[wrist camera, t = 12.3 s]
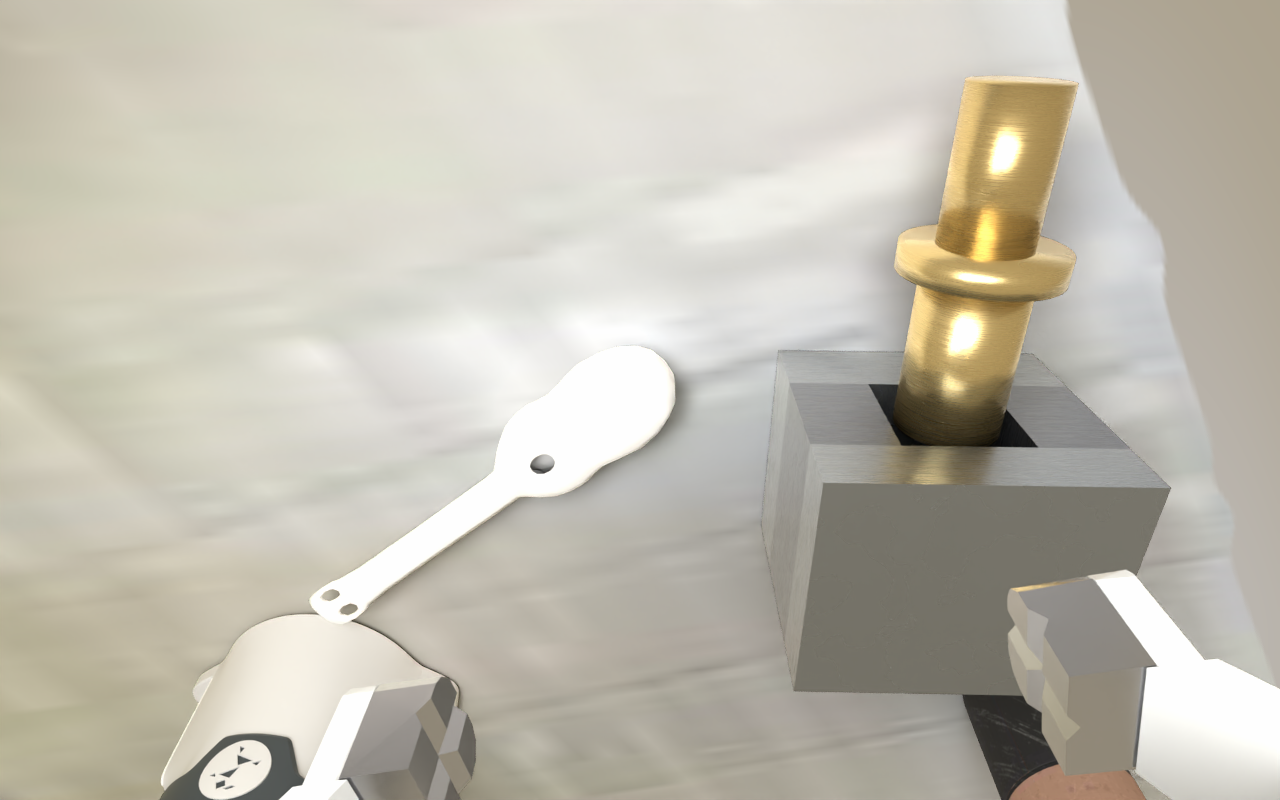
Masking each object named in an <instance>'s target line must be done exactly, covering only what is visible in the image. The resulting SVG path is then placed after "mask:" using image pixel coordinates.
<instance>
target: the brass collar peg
mask: <svg viewBox="0 0 1280 800" xmlns="http://www.w3.org/2000/svg"><path fill="white" fill-rule="evenodd" d="M1078 85H1079V83H1077V82H1074V81H1068V80H1062V79H1053V78H1041V77H1025V76H974V77H967V78H965V83H964V88H963V94H962V99H961V104H960V109H959V115H958V120H957V125H956V130H955V136H954V141H953V146H952V152H951V157H950V162H949V167H948V173H947V178H946V183H945V189H944V194H943V199H942V204H941V210H940V215H939V220H938V224H935V225H926V226H920V227H915V228H911V229H908V230H906V231H904V232H903V233H901V234H900V235H899V238H898V244H897V250H896V256H895V262H894V269H895V270H896V272H897V273H898V274H899V275H900V276H902V277H903V278H905V279H906V280H908V281H910V282H912V283H914V284H916V285H917V286H916V291H915V297H914V302H913V308H912V313H911V319H910V324H909V330H908V335H907V340H906V346H905V351H904V357H903V362H902V368H901V373H900V379H899V384H898V390H897V395H896V400H895V406H894V411H893V421H894V424H895V425H896V426H897V428H898V429H899V430H900V431H902V432H903V433H904V434H906V435H907V436H909V437H911V438H912V439H914V440H917V441H919V442H921V443H924V444H927V445H930V446H960V447H988V446H991V445H992V444H994V443H995V442H996V441H997V440H998V438H999V434H1000V430H1001V427H1002V423H1003V419H1004V415H1005V411H1006V407H1007V404H1008V400H1009V396H1010V392H1011V388H1012V384H1013V381H1014V377H1015V373H1016V369H1017V365H1018V361H1019V358H1020V354H1021V350H1022V346H1023V342H1024V338H1025V335H1026V331H1027V327H1028V323H1029V319H1030V315H1031V312H1032V308H1033V304H1034V301H1040V300H1046V299H1051V298H1054V297H1057V296H1059V295H1061V294H1063V293H1064V292H1066V291H1067V289H1068V287H1069V283H1070V279H1071V276H1072V272H1073V269H1074V265H1075V262H1076V255H1075V253H1074V252H1073V251H1072V250H1071V249H1070V248H1068V247H1067V246H1065V245H1063V244H1061V243H1059V242H1056V241H1054V240H1051V239H1049V238H1046V237H1042V236H1040V234H1041V230H1042V226H1043V222H1044V219H1045V215H1046V211H1047V207H1048V203H1049V199H1050V195H1051V191H1052V187H1053V183H1054V179H1055V175H1056V171H1057V167H1058V163H1059V159H1060V156H1061V152H1062V148H1063V144H1064V140H1065V136H1066V132H1067V128H1068V124H1069V120H1070V116H1071V112H1072V108H1073V104H1074V100H1075V96H1076V93H1077V89H1078Z"/></svg>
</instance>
